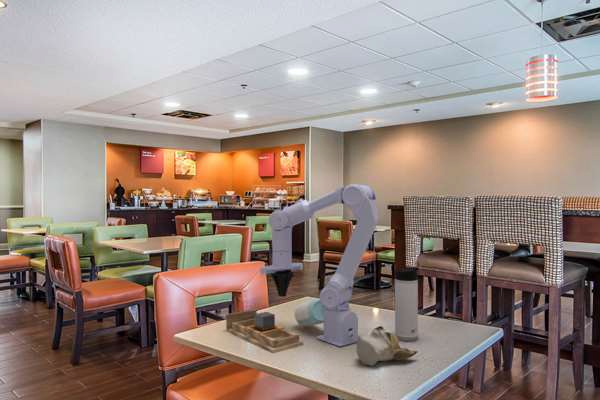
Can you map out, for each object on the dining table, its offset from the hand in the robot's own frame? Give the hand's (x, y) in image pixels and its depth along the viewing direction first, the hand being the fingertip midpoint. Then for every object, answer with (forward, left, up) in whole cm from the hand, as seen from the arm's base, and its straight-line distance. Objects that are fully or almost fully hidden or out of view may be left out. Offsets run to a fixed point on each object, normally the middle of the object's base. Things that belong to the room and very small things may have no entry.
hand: (282, 296), depth 129 cm
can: (0, -8, -7) cm, 11 cm away
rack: (-2, +8, -10) cm, 13 cm away
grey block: (-2, +8, -10) cm, 13 cm away
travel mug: (-28, -23, -11) cm, 38 cm away
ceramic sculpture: (-34, -5, -11) cm, 36 cm away
